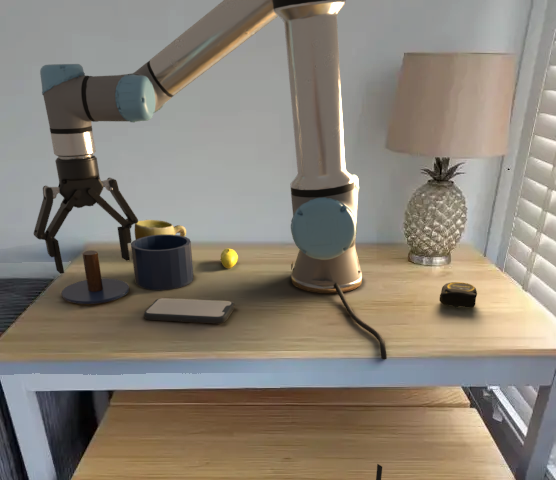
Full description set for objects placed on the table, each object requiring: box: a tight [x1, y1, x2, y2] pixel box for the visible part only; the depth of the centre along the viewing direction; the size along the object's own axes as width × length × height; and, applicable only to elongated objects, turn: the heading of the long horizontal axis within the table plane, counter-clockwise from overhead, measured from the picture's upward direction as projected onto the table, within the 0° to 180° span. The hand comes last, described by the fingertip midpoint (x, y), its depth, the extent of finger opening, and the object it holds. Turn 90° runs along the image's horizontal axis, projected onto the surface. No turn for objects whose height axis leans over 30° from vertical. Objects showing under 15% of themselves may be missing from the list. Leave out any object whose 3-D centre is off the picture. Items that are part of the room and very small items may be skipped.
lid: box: [61, 250, 130, 305], centre depth 126 cm, size 14×14×9 cm
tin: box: [130, 234, 194, 291], centre depth 133 cm, size 13×13×8 cm
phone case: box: [143, 297, 235, 325], centre depth 118 cm, size 9×2×16 cm
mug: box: [134, 219, 187, 240], centre depth 149 cm, size 12×10×10 cm
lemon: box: [220, 247, 239, 269], centre depth 143 cm, size 4×8×4 cm, turn 179°
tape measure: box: [439, 281, 478, 309], centre depth 121 cm, size 7×7×4 cm
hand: (94, 265), depth 125 cm, fingers open, 13 cm apart
